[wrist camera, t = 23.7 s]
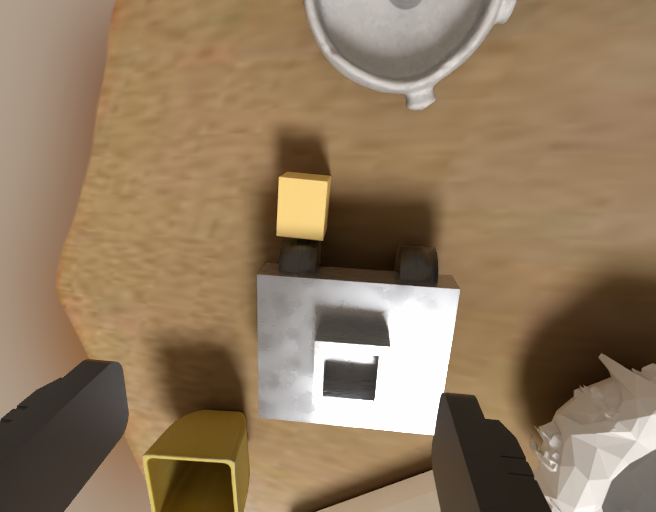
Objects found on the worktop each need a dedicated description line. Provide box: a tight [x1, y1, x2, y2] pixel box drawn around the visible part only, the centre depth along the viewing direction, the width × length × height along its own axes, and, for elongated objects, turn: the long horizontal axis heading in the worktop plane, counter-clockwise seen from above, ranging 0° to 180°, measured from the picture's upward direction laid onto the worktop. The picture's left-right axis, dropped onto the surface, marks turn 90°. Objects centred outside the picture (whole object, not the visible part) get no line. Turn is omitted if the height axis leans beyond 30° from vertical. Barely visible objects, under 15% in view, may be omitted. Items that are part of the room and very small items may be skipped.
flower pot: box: [143, 410, 250, 512], centre depth 42 cm, size 9×9×9 cm
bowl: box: [530, 353, 656, 512], centre depth 36 cm, size 21×20×10 cm
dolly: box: [257, 237, 460, 435], centre depth 36 cm, size 16×18×10 cm
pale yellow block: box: [276, 172, 331, 241], centre depth 35 cm, size 4×5×4 cm
